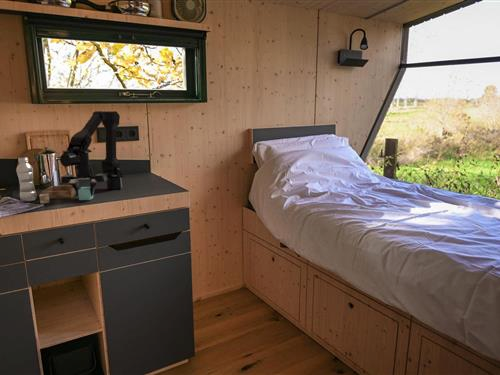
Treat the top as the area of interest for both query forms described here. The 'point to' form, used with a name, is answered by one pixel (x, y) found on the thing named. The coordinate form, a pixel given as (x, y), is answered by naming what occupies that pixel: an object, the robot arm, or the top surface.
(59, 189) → the serving box
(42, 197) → the birch cube
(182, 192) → the top surface
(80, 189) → the teal block
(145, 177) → the top surface
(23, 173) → the plastic bottle
